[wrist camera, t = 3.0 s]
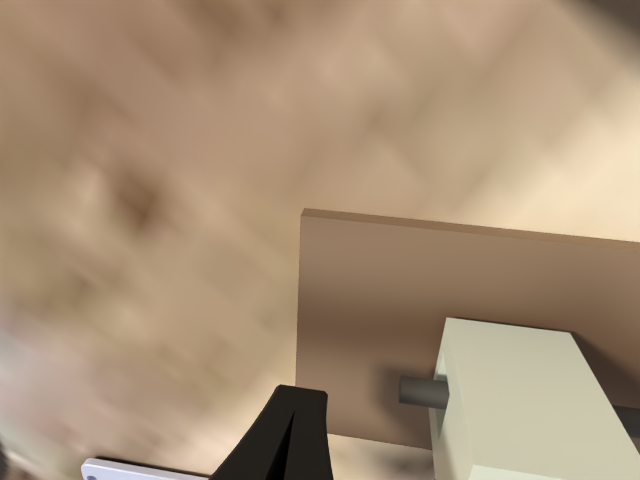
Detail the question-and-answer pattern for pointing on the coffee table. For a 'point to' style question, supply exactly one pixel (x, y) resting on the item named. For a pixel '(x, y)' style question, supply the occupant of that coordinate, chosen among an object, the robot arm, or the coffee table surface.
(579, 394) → the sleeve
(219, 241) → the coffee table surface
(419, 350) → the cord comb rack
